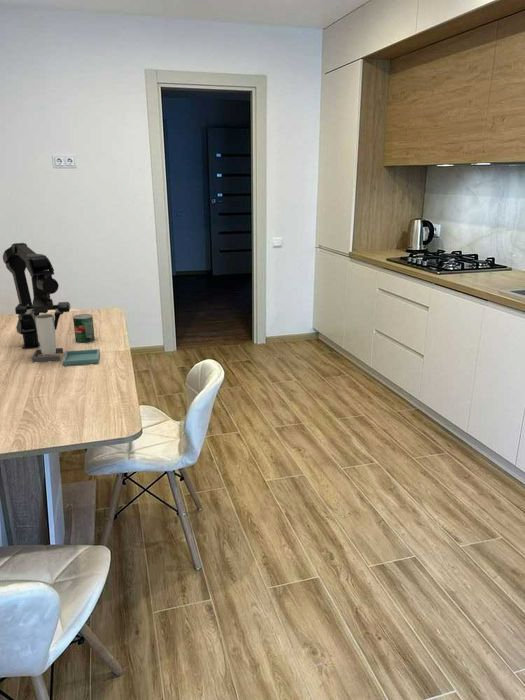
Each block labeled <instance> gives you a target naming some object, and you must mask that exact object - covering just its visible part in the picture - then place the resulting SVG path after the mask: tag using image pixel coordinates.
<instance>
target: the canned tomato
mask: <svg viewBox="0 0 525 700" xmlns="http://www.w3.org/2000/svg"><path fill="white" fill-rule="evenodd" d="M72 320H73V329H74V331H73V332H74V338H75V343H77V344H80V343H85V344H91V343H93V341H94V342H95V341H96V338H95V330H94V319H93V314H87V313H80V314H75V315H73V316H72ZM90 342H91V343H90Z"/></svg>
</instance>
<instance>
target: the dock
mask: <svg viewBox="0 0 525 700" xmlns="http://www.w3.org/2000/svg"><path fill="white" fill-rule="evenodd" d="M40 354H41V355H43V354H42V353H41V348H36V349H35V351H34V353H33V355H32V356H31V358H32V359H31V361H32V363H34V364H35V362H37V363H49V362H48V361H51V362H60V361H61V354H64V350H63V347H56V354H59V355H43V356H41V355H40Z"/></svg>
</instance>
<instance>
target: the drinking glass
mask: <svg viewBox="0 0 525 700" xmlns="http://www.w3.org/2000/svg"><path fill="white" fill-rule="evenodd" d="M35 323H36V329H37V334H38V340H39V343H40V346H39V348H40V349H41V353H42V354H41V355H43V356H53V355H54V354H55V353H56V348H57V346H56V343H57V342H56V330H55V315H54V314H51V313H41V314H39V315H37V316H35ZM56 354H57V353H56Z"/></svg>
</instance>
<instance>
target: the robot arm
mask: <svg viewBox="0 0 525 700" xmlns="http://www.w3.org/2000/svg"><path fill="white" fill-rule="evenodd" d="M2 261H3V263H4V264H5V267H6V268H5V269H7V270H8V271H9V273H11V274H12V278H13V282H14V287H15V290H16V295H17V299H18V302H19V303H18V304H17V305H16V306H15V309H14V312H15V314H16V315H18V316H17V318H18V320H17V324H16V332H17V333H18V334H19V335H22V339H23V340H22V341H23V345H22V346H21V348H22V349H35V348H36V349H39V348H40V343H39V338H38V334H37V329H36V323H35V316H37V315H40V314H48V312H49V311H55V312H54V314H53V315H54V321H55V331H56V330H57V328H58V324H59V319H60V317H61V315H63V314H64V313H69V312H70V311H71V303H70V302H69V301H58V303H57V304H54V301H53V298H51V295H53V294H55V293H56V292H58V290H59V283H58V281H57V280H56V279H55V278H53V275H55V272H54V271H55V268H54V267H53V264H52V263H51V261H50V259H49V258H48V257H47V255H45V254H43V253H36V252H35V251H34V250H33V249H32V248H30V247H29V246H28V244H27V243H25V242H19V243H18V242H16V243H13V244H11V246H10V247H8V248H7V249H5V250H4V252H3V254H2ZM26 270H27V271H28V273H29V276H30V277H31V285H32V293H33V295H32V296H33V299H32V297H31V294H30V293H31V292H30V290H29V283H28V280H27V276H26Z"/></svg>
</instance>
